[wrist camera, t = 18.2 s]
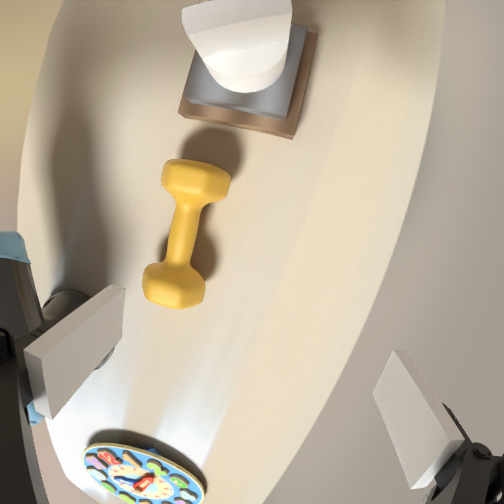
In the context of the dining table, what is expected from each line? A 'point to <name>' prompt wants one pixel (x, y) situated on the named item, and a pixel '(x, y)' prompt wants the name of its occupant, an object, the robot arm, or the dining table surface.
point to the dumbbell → (184, 232)
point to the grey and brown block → (253, 93)
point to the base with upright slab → (241, 40)
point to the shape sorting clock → (141, 475)
